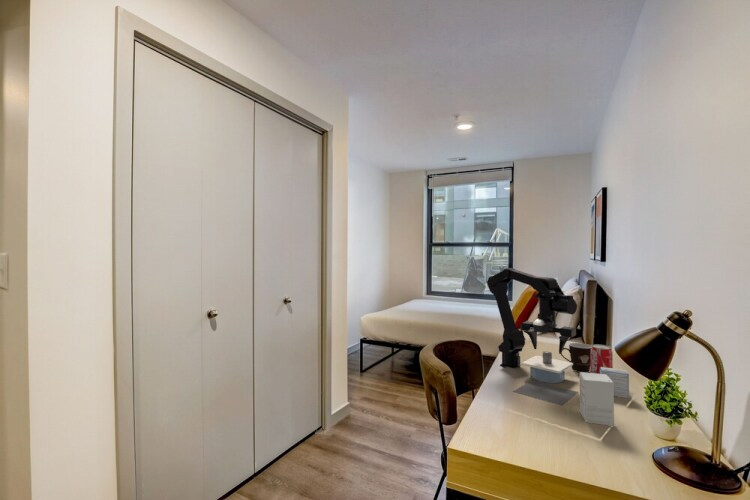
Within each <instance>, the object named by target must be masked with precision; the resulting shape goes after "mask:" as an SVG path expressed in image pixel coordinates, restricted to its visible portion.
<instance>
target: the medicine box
mask: <svg viewBox="0 0 750 500" xmlns="http://www.w3.org/2000/svg"><path fill="white" fill-rule="evenodd" d="M600 374H606V375H607V376H608V377H609V378H610V379H611V380H612V382H613V383H614V397H619V398H626V399H629V398H630V373H629V372H628V370H626V369H621V368H605V367H600Z"/></svg>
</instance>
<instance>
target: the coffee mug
mask: <svg viewBox="0 0 750 500" xmlns="http://www.w3.org/2000/svg"><path fill="white" fill-rule="evenodd" d="M568 345H569V346H568V347H569V348H567V347H564V348H563V351H566V350H567V351H568V353H569V355H570V357H569V358H570V359H568V357H565V356H564V354H563V353H561V354H560V355H561V357H562V358H564V359H565V360H566V361H567V362H571V363H573V366H571V369H572V370H573V371H576V372H578V371H579V373H580V372H584V373H590V357H591V348H592V344H586V343H581V342H571V343H569V344H568Z"/></svg>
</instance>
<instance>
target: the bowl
mask: <svg viewBox="0 0 750 500" xmlns="http://www.w3.org/2000/svg"><path fill="white" fill-rule="evenodd" d="M529 371H530V372H529V373H530V376H531V377H532V378H533V380H534V379H535V381H536V380H537V381H538V382H541V383H547V384H548V383H549V384H559V383H562V382H564V380H565V377H566V376H565V371H566V370H565V371H563V372H562V373H560V374H559V373H555V372H551V371H546V370H542V369H537V368H533V367H530V370H529Z"/></svg>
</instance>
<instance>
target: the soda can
mask: <svg viewBox="0 0 750 500" xmlns="http://www.w3.org/2000/svg"><path fill="white" fill-rule="evenodd" d="M591 346H592V348H591V357H590V371H589V373H596V374H600V367H605V368H613V357H614V356H613V351H612V347H611V346H608V345H606V344H601V343H600V344H597V343H596V344H595V343H594V344H591Z"/></svg>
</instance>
